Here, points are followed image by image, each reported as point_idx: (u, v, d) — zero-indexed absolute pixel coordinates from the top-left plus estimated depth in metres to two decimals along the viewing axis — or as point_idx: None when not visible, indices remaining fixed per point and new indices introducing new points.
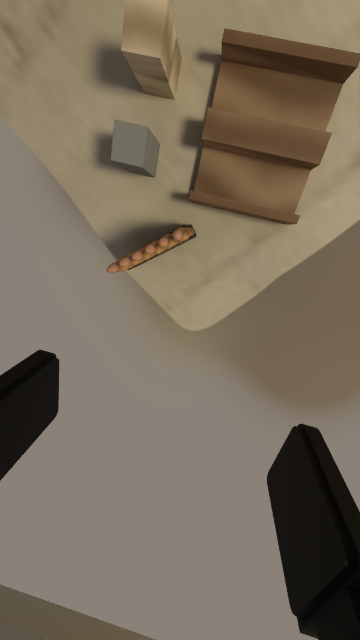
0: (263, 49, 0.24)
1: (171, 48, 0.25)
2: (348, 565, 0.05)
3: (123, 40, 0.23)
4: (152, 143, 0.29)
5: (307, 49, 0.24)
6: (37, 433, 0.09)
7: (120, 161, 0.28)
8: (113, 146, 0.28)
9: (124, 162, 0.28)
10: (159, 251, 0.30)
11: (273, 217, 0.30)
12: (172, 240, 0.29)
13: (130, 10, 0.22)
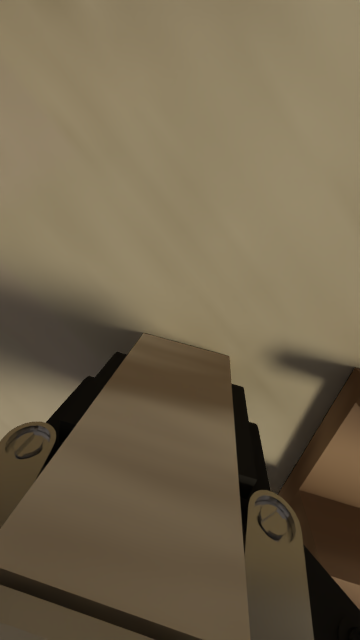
0: None
1: None
2: None
3: None
4: None
5: None
6: None
7: None
8: None
9: None
10: None
11: None
12: None
13: None
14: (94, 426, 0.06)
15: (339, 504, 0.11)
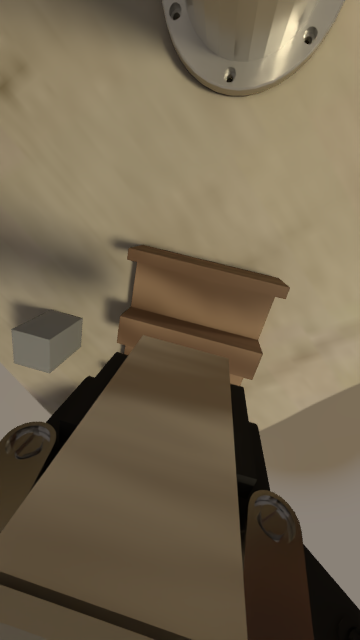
0: (175, 271, 0.20)
1: None
2: None
3: None
4: (65, 336, 0.26)
5: (226, 277, 0.20)
6: None
7: (25, 365, 0.25)
8: (14, 352, 0.24)
9: (29, 366, 0.25)
10: None
11: None
12: None
13: None
14: (94, 429, 0.06)
15: (147, 311, 0.25)
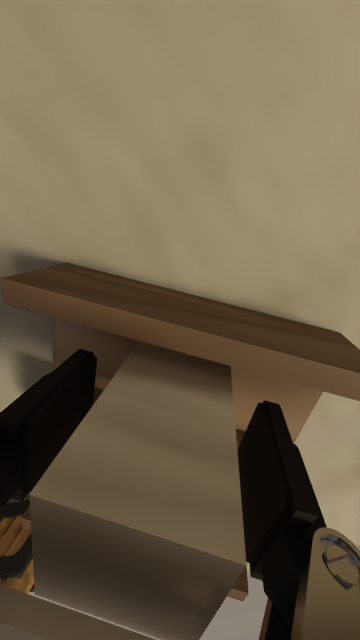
0: (115, 333, 0.09)
1: None
2: (284, 509, 0.06)
3: (40, 583, 0.06)
4: None
5: (234, 351, 0.08)
6: (77, 426, 0.09)
7: None
8: None
9: None
10: None
11: None
12: None
13: (58, 538, 0.05)
14: (111, 402, 0.07)
15: None
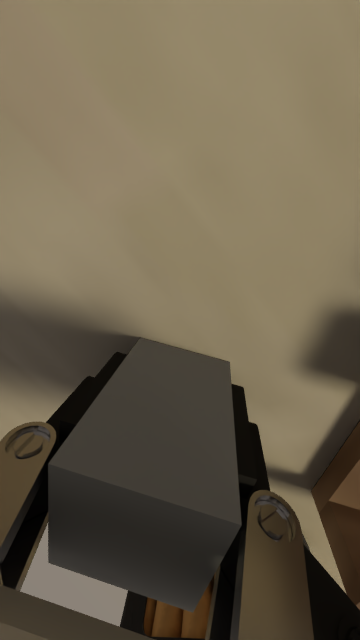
0: None
1: None
2: None
3: None
4: None
5: None
6: None
7: (92, 573, 0.06)
8: (55, 536, 0.06)
9: (110, 579, 0.06)
10: None
11: None
12: None
13: None
14: None
15: None
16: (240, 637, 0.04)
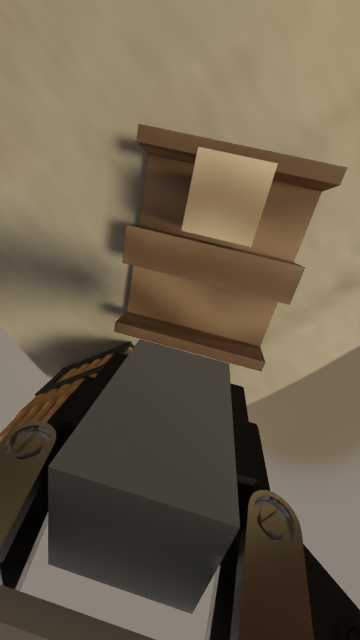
0: None
1: None
2: None
3: (186, 217, 0.13)
4: None
5: (263, 157, 0.16)
6: None
7: (91, 574, 0.06)
8: (55, 538, 0.06)
9: (110, 580, 0.06)
10: None
11: (229, 361, 0.21)
12: None
13: (203, 175, 0.12)
14: None
15: (158, 230, 0.21)
16: (240, 637, 0.04)
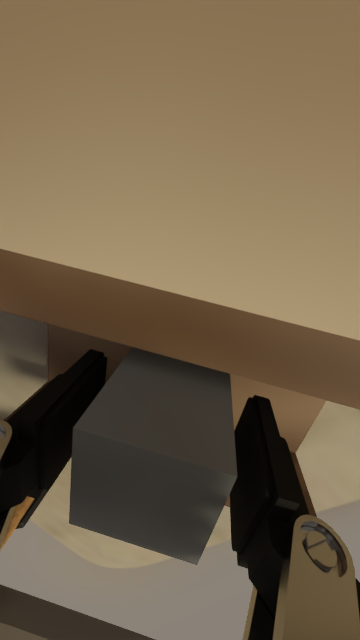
0: None
1: None
2: (268, 497, 0.06)
3: None
4: None
5: None
6: None
7: (108, 532, 0.07)
8: (76, 496, 0.07)
9: (124, 537, 0.07)
10: None
11: None
12: None
13: None
14: None
15: None
16: None
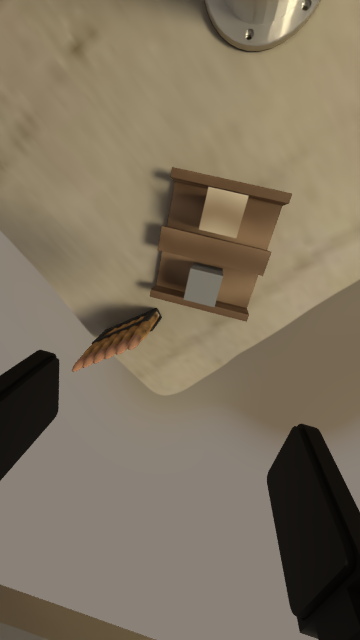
0: (207, 185, 0.27)
1: None
2: (348, 565, 0.05)
3: (202, 222, 0.24)
4: None
5: (244, 187, 0.27)
6: (37, 433, 0.09)
7: (193, 301, 0.30)
8: (187, 289, 0.29)
9: (196, 302, 0.30)
10: None
11: (225, 315, 0.33)
12: None
13: (211, 200, 0.23)
14: None
15: (179, 229, 0.32)
16: None
